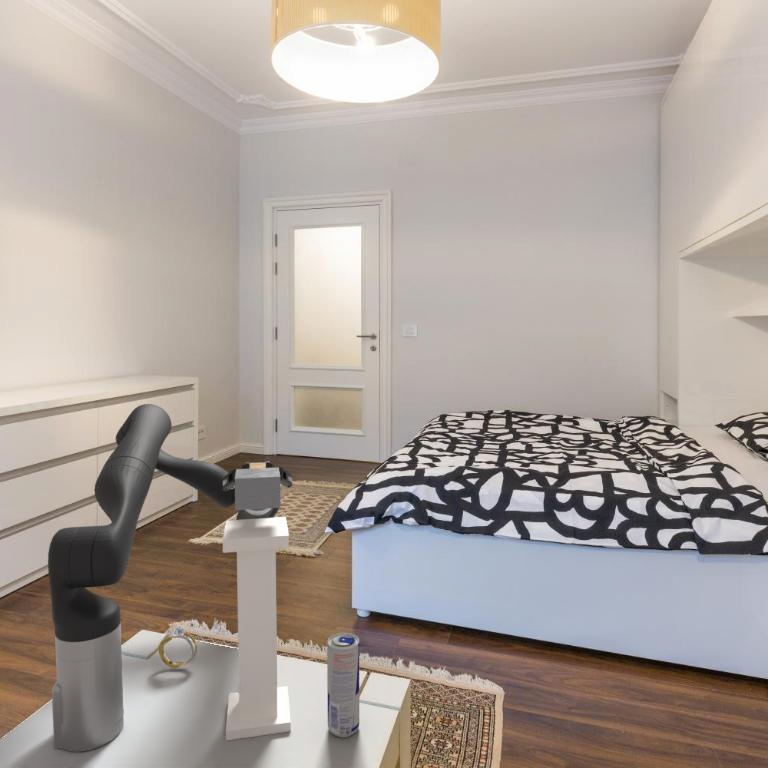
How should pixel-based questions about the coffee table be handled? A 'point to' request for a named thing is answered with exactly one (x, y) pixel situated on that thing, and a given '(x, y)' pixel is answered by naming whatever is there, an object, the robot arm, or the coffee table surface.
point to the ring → (177, 634)
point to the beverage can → (343, 684)
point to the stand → (257, 629)
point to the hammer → (257, 487)
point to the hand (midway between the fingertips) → (257, 467)
